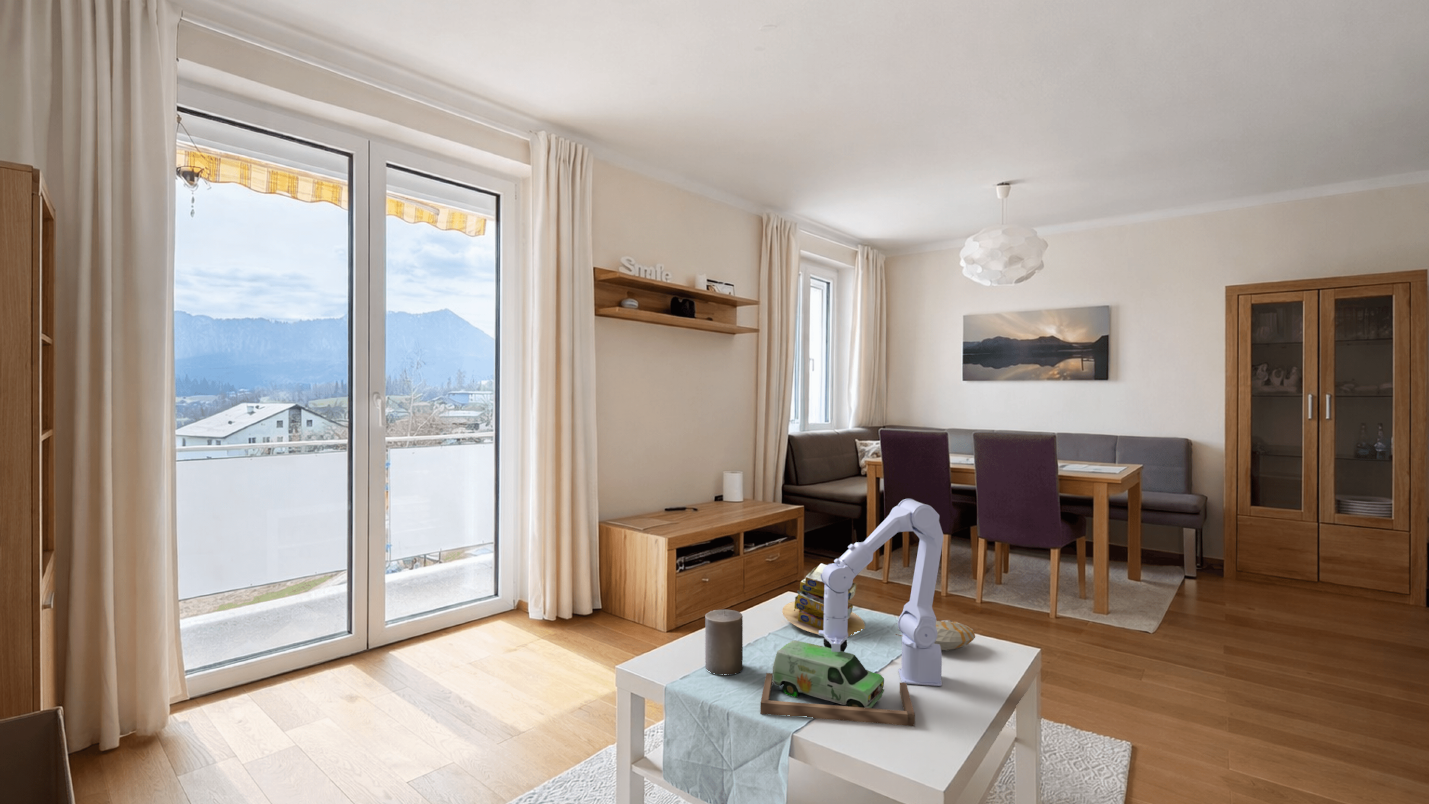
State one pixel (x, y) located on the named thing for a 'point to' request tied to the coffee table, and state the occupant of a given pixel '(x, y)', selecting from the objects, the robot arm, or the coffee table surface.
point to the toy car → (826, 675)
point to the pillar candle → (724, 641)
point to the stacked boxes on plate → (817, 605)
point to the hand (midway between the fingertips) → (834, 670)
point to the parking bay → (839, 709)
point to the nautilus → (952, 634)
